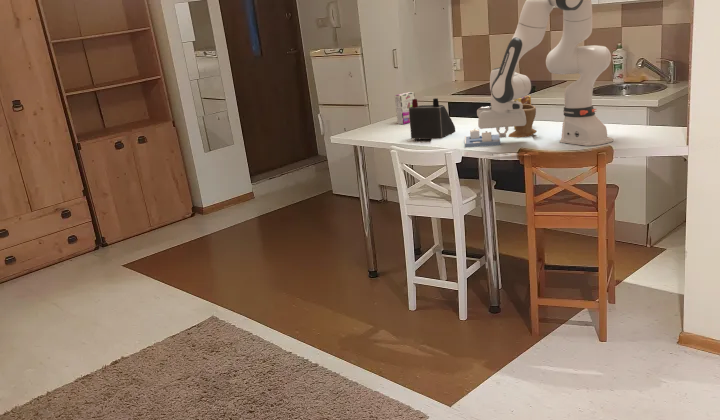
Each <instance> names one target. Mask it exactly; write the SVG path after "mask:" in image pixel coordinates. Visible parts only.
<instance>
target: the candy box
mask: <svg viewBox="0 0 720 420" xmlns="http://www.w3.org/2000/svg"><path fill="white" fill-rule="evenodd" d="M513 101H517V102H521V103H522V104H530V105H532V96H531V95H527V96H525V97H522V98H518V99H515V100H513ZM513 129H514V131H515V130H516V127H515V126H514V127H513Z"/></svg>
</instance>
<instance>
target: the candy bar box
mask: <svg viewBox="0 0 720 420" xmlns="http://www.w3.org/2000/svg"><path fill="white" fill-rule="evenodd" d="M412 99H416V97H415V92H412V91H409V92H408V91H407V92H403V93H399V94H395V95H394V101H395V110H396V111H395V112H396V120H397V121H396V122H397V124H398V125H403V126H405V125H407V124H410V117H409V108H410V107H412Z"/></svg>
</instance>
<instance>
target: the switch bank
mask: <svg viewBox="0 0 720 420" xmlns="http://www.w3.org/2000/svg"><path fill="white" fill-rule="evenodd" d="M479 136H480V138H477V139H470V135H469V136H466V135H465V136H464V148H476V147H491V146H501V139H500V138H499V133H498V134H491V136H492V141H486V142H482V135H479Z"/></svg>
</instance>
